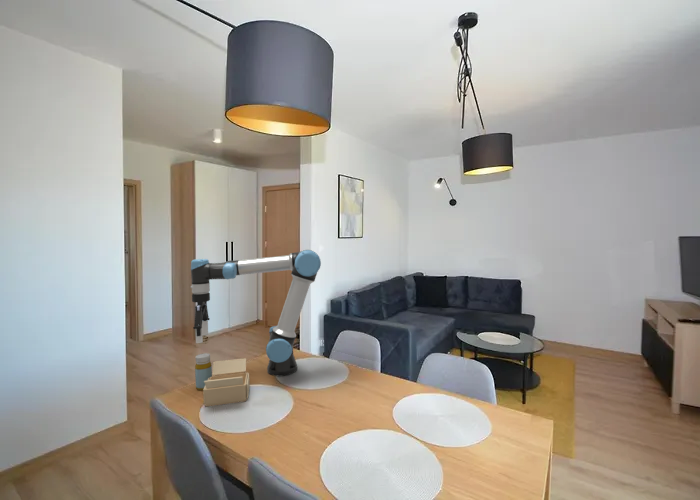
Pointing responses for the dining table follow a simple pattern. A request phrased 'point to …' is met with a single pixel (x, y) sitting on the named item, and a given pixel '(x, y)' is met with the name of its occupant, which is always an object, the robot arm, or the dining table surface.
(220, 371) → the back flap
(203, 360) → the bottle
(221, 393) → the carton
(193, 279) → the robot arm
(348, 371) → the dining table surface
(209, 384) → the front flap
